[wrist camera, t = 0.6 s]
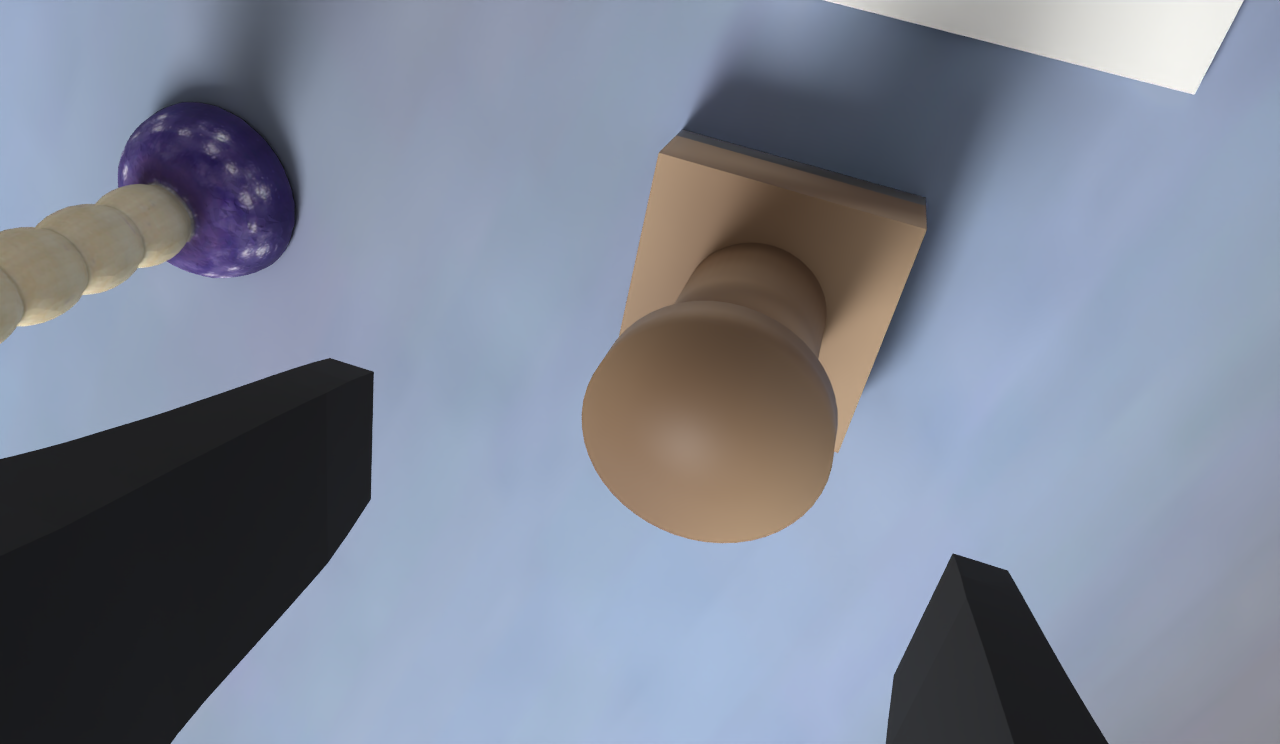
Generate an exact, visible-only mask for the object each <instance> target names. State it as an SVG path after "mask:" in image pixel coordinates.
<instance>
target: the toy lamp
mask: <svg viewBox="0 0 1280 744" xmlns="http://www.w3.org/2000/svg"><path fill="white" fill-rule="evenodd" d="M294 208H295V203H294V200H293V196H292V189H291V187H290V184H289V181H288V178H287V176H286V174H285V171H284V168H283V166H282V165H281V163H280V161H279V159H278V157H277V156H276V154H275V153H274V152H273V150H272V149H271V147H270V146H269V145H268V143H267V142H266V141H265V140H264V138H262V137H261V136H260V135H259V134H258V133H257V132H256V131H255V130H254V129H253V128H252V127H251V126H249V125H248V124H247V123H246V122H245V121H244V120H243V119H241V118H239V117H237V116H235V115H234V114H232V113H229V112H227V111H225V110H223V109H222V108H220V107H217V106H214V105H209V104H204V103H198V102H182V103H178V104H175V105H171V106H169V107H166V108H164V109H162V110H160V111H158V112H156V113H155V114H154V115H152V116H151V117H149V118H148V119H147V120H146V121H144V122H143V123H142V124H141V125H140V126H139V127H138V128H137V129H136V130H135V131H134V133H133V134H132V135H131V136H130V138H129V140H128V141H127V144H126V146H125V149H124V151H123V152H122V155H121V159H120V163H119V167H118V188H117V189H115V190H112V191H110V192H109V193H107V194H105V195H104V196H102V197H101V198H100V199H99V200H98V202H97V203H96V204H82V205H76V206H70V207H66V208H64V209H61V210H59V211H56V212H55V213H53V214H51V215H49V216H47V217H46V218H44V219H43V220H42V221H41V222H40V223H38V224H37V226H36V227H35V228H34V227H20V228H14V229H7V230H4V231H1V232H0V344H1V343H2V342H3V341H4V340H5V339H7V338H8V337H9V336H10V335H11V334H12V333H13V331H14V330H15V328H16V327H17V326H30V325H35V324H40V323H44V322H46V321H49V320H52V319H54V318H56V317H58V316H60V315H61V314H63V313H65V312H66V311H68V310H69V309H70V308H72V307H73V306H74V305H75V304H76V303H77V302H78V301H79V299H80V298H81V296H82V295H87V294H95V293H101V292H104V291H107V290H109V289H112V288H114V287H116V286H118V285H119V284H121V283H123V282H124V281H126V280H127V279H128V278H129V277H130V276H131V275H132V274H133V273H134V272H135V271H136V270H137V268H145V267H151V266H155V265H159V264H161V263H163V262H165V261H167V262H169V263H170V264H172V265H174V266H176V267H178V268H180V269H183V270H185V271H188V272H191V273H194V274H198V275H202V276H206V277H211V278H229V277H237V276H243V275H248V274H252V273H255V272H257V271H259V270H262V269H264V268H266V267H268V266H270V265H271V264H273V263H274V262H275V261H276V260H277V259H278V258H279V257H280V256H281V255H282V253H283V252H284V251H285V250H286V247H287V246H288V244H289V241H290V238H291V235H292V230H293V227H294V223H295V217H294Z"/></svg>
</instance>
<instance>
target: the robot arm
mask: <svg viewBox="0 0 1280 744" xmlns="http://www.w3.org/2000/svg"><path fill="white" fill-rule="evenodd" d="M373 378H374V372H372V371H369V370H366V369H363V368H360V367H357V366H353V365H350V364H347V363H344V362H341V361H337V360H334V359H331V358H329V359H325V360H321V361H317V362H314V363H310V364H307V365H304V366H300V367H297V368H294V369H291V370H288V371H285V372H282V373H279V374H276V375H273V376H270V377H267V378H264V379H261V380H258V381H255V382H253V383H250V384H247V385H244V386H241V387H238V388H235V389H232V390H229V391H226V392H223V393H221V394H218V395H215V396H212V397H209V398H206V399H203V400H200V401H197V402H194V403H191V404H188V405H185V406H182V407H179V408H176V409H173V410H170V411H167V412H164V413H161V414H158V415H155V416H152V417H148V418H145V419H142V420H139V421H135V422H132V423H129V424H125V425H122V426H119V427H115V428H112V429H109V430H105V431H102V432H99V433H95V434H92V435H89V436H85V437H82V438H79V439H76V440H72V441H69V442H66V443H62V444H58V445H54V446H51V447H47V448H43V449H40V450H36V451H32V452H28V453H24V454H20V455H16V456H12V457H8V458H3V459H0V744H171V742H172V741H173V739H174V738H175V737H176V735H177V734H178V733H179V732H180V730H181V729H182V728H183V727H184V726H185V724H186V723H187V722H188V721H189V720H190V718H191V717H192V716H193V715H194V714H195V712H196V711H197V710H198V709H199V708H200V706H201V705H202V704H203V703H204V701H205V700H206V699H207V698H208V697H209V696H210V695H211V694H212V693H213V691H214V690H215V689H216V688H217V687H218V686H219V685H220V684H221V682H222V681H223V680H224V679H225V678H226V677H227V676H228V675H229V674H230V672H231V671H232V670H233V669H234V668H235V667H236V666H237V665H238V664H239V662H240V661H241V660H242V659H243V658H244V657H245V656H246V655H247V654H248V652H249V651H250V650H251V649H252V648H253V647H254V646H255V645H256V643H257V642H258V641H259V640H260V639H261V638H262V637H263V636H264V635H265V633H266V632H267V631H268V630H269V629H270V628H271V627H272V626H273V625H274V623H275V622H276V621H277V620H278V619H279V618H280V617H281V616H282V615H283V613H284V612H285V611H286V610H287V609H288V608H289V607H290V606H291V604H292V603H293V602H294V601H295V600H296V599H297V598H298V596H299V595H300V594H301V593H302V592H303V591H304V590H305V589H306V587H307V586H308V585H309V584H310V583H311V582H312V581H313V579H314V578H315V577H316V576H317V575H318V574H319V573H320V571H321V570H322V569H323V568H324V567H325V566H326V564H327V563H328V562H329V560H330V559H331V558H332V556H333V555H334V553H335V552H336V550H337V549H338V548H339V546H340V545H341V543H342V542H343V540H344V539H345V538H346V536H347V535H348V533H349V532H350V530H351V529H352V527H353V526H354V524H355V522H356V521H357V519H358V518H359V516H360V515H361V513H362V512H363V510H364V509H365V507H366V506H367V504H368V503H369V501H370V499H371V465H372V421H373ZM886 744H1108V742H1107V741H1106V739H1105V737H1104V736H1103V734H1102V733H1101V731H1100V729H1099V728H1098V726H1097V724H1096V723H1095V721H1094V720H1093V718H1092V716H1091V715H1090V713H1089V711H1088V710H1087V708H1086V706H1085V705H1084V703H1083V701H1082V700H1081V698H1080V696H1079V695H1078V693H1077V691H1076V690H1075V688H1074V686H1073V685H1072V683H1071V681H1070V679H1069V678H1068V676H1067V674H1066V673H1065V671H1064V669H1063V667H1062V666H1061V664H1060V662H1059V660H1058V659H1057V657H1056V655H1055V653H1054V652H1053V650H1052V648H1051V646H1050V645H1049V643H1048V641H1047V639H1046V638H1045V636H1044V634H1043V632H1042V630H1041V629H1040V627H1039V625H1038V623H1037V621H1036V620H1035V618H1034V616H1033V614H1032V612H1031V611H1030V609H1029V607H1028V605H1027V603H1026V602H1025V600H1024V598H1023V596H1022V595H1021V593H1020V591H1019V589H1018V587H1017V586H1016V584H1015V582H1014V581H1013V579H1012V577H1011V575H1010V574H1009V572H1008V571H1007V570H1004V569H1001V568H998V567H995V566H991V565H988V564H985V563H982V562H979V561H975V560H972V559H969V558H966V557H963V556H959V555H956V554H952V556H951V558H950V560H949V562H948V564H947V567H946V569H945V571H944V573H943V575H942V577H941V579H940V581H939V583H938V585H937V587H936V589H935V591H934V593H933V595H932V598H931V600H930V602H929V604H928V606H927V608H926V610H925V612H924V614H923V616H922V618H921V620H920V622H919V624H918V627H917V629H916V631H915V633H914V635H913V637H912V639H911V641H910V643H909V645H908V647H907V649H906V651H905V653H904V656H903V658H902V660H901V662H900V664H899V666H898V668H897V670H896V672H895V674H894V679H893V687H892V695H891V703H890V711H889V719H888V728H887V738H886Z"/></svg>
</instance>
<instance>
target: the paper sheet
mask: <svg viewBox="0 0 1280 744" xmlns="http://www.w3.org/2000/svg"><path fill="white" fill-rule="evenodd" d="M825 1H829V2H833V3H837V4H840V5H844V6H848V7H852V8H856V9H860V10H864V11H868V12H872V13H876V14H880V15H884V16H888V17H892V18H895V19H899V20H903V21H907V22H911V23H915V24H919V25H923V26H927V27H931V28H935V29H939V30H943V31H946V32H950V33H954V34H958V35H962V36H966V37H970V38H974V39H978V40H982V41H986V42H990V43H994V44H998V45H1001V46H1005V47H1009V48H1013V49H1017V50H1021V51H1025V52H1029V53H1033V54H1037V55H1041V56H1045V57H1049V58H1052V59H1056V60H1060V61H1064V62H1068V63H1072V64H1076V65H1080V66H1084V67H1088V68H1092V69H1096V70H1100V71H1103V72H1107V73H1111V74H1115V75H1119V76H1123V77H1127V78H1131V79H1135V80H1139V81H1143V82H1147V83H1151V84H1155V85H1158V86H1162V87H1166V88H1170V89H1174V90H1178V91H1182V92H1186V93H1190V94H1194V95H1195V93H1196V91H1197V89H1198V87H1199V85H1200V83H1201V81H1202V79H1203V77H1204V75H1205V74H1206V72H1207V70H1208V68H1209V66H1210V64H1211V62H1212V60H1213V58H1214V56H1215V54H1216V52H1217V51H1218V49H1219V47H1220V45H1221V43H1222V41H1223V39H1224V37H1225V35H1226V33H1227V31H1228V29H1229V28H1230V26H1231V24H1232V22H1233V20H1234V18H1235V16H1236V14H1237V12H1238V10H1239V8H1240V7H1241V5H1242V3H1243V1H1244V0H825Z"/></svg>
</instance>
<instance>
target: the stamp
mask: <svg viewBox="0 0 1280 744" xmlns="http://www.w3.org/2000/svg"><path fill="white" fill-rule="evenodd" d="M926 230H927V219H926V198H925V197H921V196H918V195H914V194H911V193H907V192H904V191H900V190H896V189H893V188H889V187H886V186H882V185H879V184H875V183H871V182H868V181H864V180H861V179H857V178H854V177H850V176H846V175H843V174H839V173H836V172H832V171H829V170H825V169H822V168H818V167H814V166H811V165H807V164H804V163H800V162H797V161H793V160H789V159H786V158H782V157H779V156H775V155H772V154H768V153H765V152H761V151H757V150H754V149H750V148H747V147H743V146H740V145H736V144H732V143H729V142H725V141H722V140H718V139H715V138H711V137H708V136H704V135H700V134H697V133H693V132H690V131H686V130H683V129H682V130H681V131H680V132H679V133H678V134H677V135H676V136H675V137H674V138H673V139H672V140H671V141H670V142H669V143H668V144H667V145H666V146H665V147H664V148H663V149H662V150H661V151H660V152H659V154H658V159H657V164H656V168H655V173H654V177H653V182H652V187H651V191H650V196H649V200H648V205H647V210H646V214H645V219H644V224H643V228H642V233H641V237H640V242H639V247H638V251H637V256H636V260H635V265H634V270H633V274H632V279H631V284H630V288H629V293H628V297H627V302H626V307H625V311H624V316H623V321H622V325H621V330H620V334H619V338H618V339H617V340H616V341H615V343H614V344H613V346H612V347H611V349H610V350H609V352H608V353H607V355H606V356H605V358H604V359H603V360H602V362H601V363H600V365H599V366H598V368H597V369H596V371H595V372H594V374H593V376H592V378H591V380H590V382H589V384H588V387H587V390H586V393H585V397H584V400H583V408H582V430H583V436H584V442H585V445H586V448H587V452H588V455H589V457H590V459H591V461H592V464H593V466H594V468H595V470H596V471H597V473H598V475H599V476H600V478H601V480H602V481H603V482H604V484H605V485H606V486H607V487H608V489H609V490H610V491H611V493H612V494H613V495H614V496H615V497H616V498H617V499H618V500H619V501H620V502H621V503H622V504H623V505H625V506H626V507H627V508H628V509H630V510H631V511H632V512H633V513H635V514H636V515H638V516H639V517H641V518H642V519H644V520H645V521H647V522H648V523H650V524H652V525H654V526H656V527H658V528H660V529H662V530H665V531H667V532H670V533H672V534H675V535H678V536H681V537H685V538H688V539H692V540H698V541H703V542H713V543H737V542H744V541H751V540H755V539H759V538H762V537H766V536H769V535H771V534H773V533H776V532H778V531H780V530H782V529H784V528H786V527H787V526H789V525H791V524H793V523H794V522H795V521H796V520H798V519H799V518H800V517H802V516H803V515H804V514H805V513H806V512H807V511H808V510H809V509H810V508H811V507H812V506H813V505H814V503H815V502H816V500H817V499H818V498H819V496H820V495H821V493H822V491H823V489H824V487H825V485H826V483H827V481H828V478H829V475H830V471H831V468H832V462H833V455H834V452H837V453H838V452H839V449H840V447H841V444H842V442H843V439H844V437H845V434H846V432H847V429H848V427H849V424H850V422H851V419H852V417H853V414H854V412H855V409H856V407H857V404H858V402H859V399H860V397H861V394H862V392H863V389H864V386H865V384H866V381H867V379H868V376H869V374H870V371H871V369H872V366H873V364H874V361H875V359H876V356H877V354H878V351H879V349H880V346H881V344H882V341H883V339H884V336H885V334H886V331H887V329H888V326H889V324H890V321H891V319H892V316H893V313H894V311H895V308H896V306H897V303H898V301H899V298H900V296H901V293H902V291H903V288H904V286H905V283H906V281H907V278H908V276H909V273H910V271H911V268H912V266H913V263H914V261H915V258H916V256H917V253H918V251H919V248H920V246H921V243H922V241H923V238H924V235H925V233H926Z"/></svg>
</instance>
